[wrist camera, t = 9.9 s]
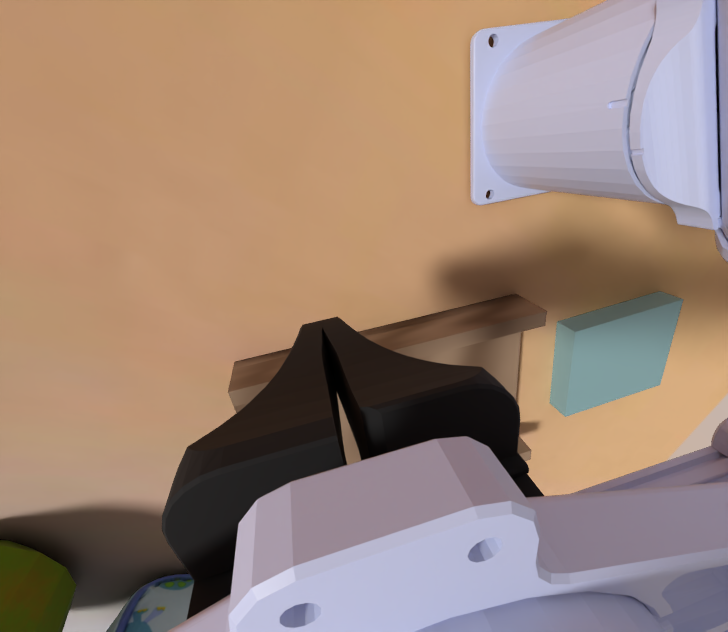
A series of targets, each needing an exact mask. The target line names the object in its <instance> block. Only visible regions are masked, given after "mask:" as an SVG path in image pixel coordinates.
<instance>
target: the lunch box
mask: <svg viewBox="0 0 728 632" xmlns="http://www.w3.org/2000/svg"><path fill="white" fill-rule="evenodd" d="M193 585H194V580H193V578H192V577H191V576H190V574H178V575H171V576H165V577H162V578H159V579H157V580H154V581H152V582H150V583H148V584H146V585H144V586H142V587H141V588H140V589H139V590H137V591H136V592H135V593H134V594H133V595H132V597H131V598H130V599H129V600H128V602H127V603H126V604H125V606H124V607H123V608H122V610H121V611H120V613H119V614H118V616H117V617H116V619H115V620H114V621H113V623H112V624H111V625H110V627H109V628H108V630H107V631H106V632H167V631H169V630H170V629H172V628H174V627H175V626H177V625H179V624H181V623H182V622H184V621H186V620H187V615H188V610H189V605H190V600H191V595H192V590H193Z"/></svg>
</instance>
